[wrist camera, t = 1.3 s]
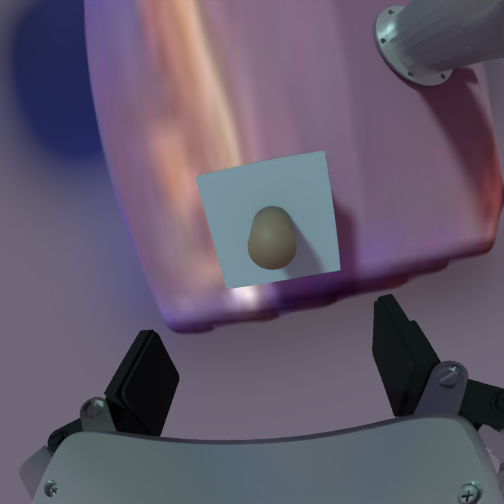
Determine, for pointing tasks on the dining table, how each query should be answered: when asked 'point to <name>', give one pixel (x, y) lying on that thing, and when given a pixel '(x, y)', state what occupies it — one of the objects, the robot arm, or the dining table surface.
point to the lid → (272, 219)
